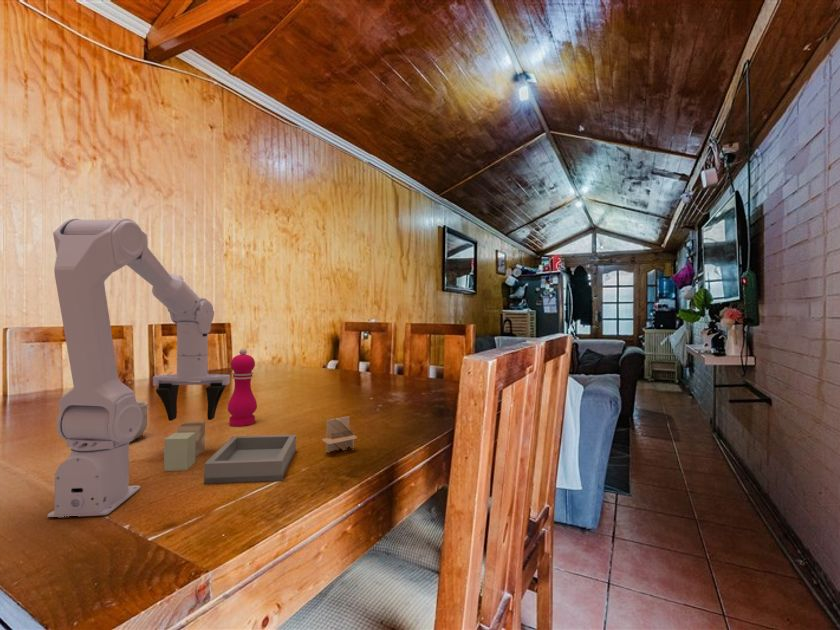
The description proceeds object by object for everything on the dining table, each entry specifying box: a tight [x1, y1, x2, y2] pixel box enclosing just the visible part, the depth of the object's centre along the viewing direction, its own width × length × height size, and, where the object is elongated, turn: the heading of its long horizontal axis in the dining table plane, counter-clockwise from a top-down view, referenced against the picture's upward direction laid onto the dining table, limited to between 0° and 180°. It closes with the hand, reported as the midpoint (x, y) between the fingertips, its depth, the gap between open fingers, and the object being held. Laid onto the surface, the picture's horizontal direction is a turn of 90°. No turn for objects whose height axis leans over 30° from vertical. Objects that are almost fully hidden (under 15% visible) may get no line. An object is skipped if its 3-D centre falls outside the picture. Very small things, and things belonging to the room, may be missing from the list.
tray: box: [203, 434, 297, 485], centre depth 81 cm, size 16×13×4 cm
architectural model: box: [321, 416, 358, 453], centre depth 89 cm, size 3×7×7 cm, turn 131°
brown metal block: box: [176, 421, 206, 457], centre depth 87 cm, size 4×4×6 cm
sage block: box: [163, 432, 196, 472], centre depth 80 cm, size 4×4×6 cm
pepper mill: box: [227, 348, 258, 427], centre depth 111 cm, size 7×7×20 cm
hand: (191, 419), depth 88 cm, fingers open, 7 cm apart
